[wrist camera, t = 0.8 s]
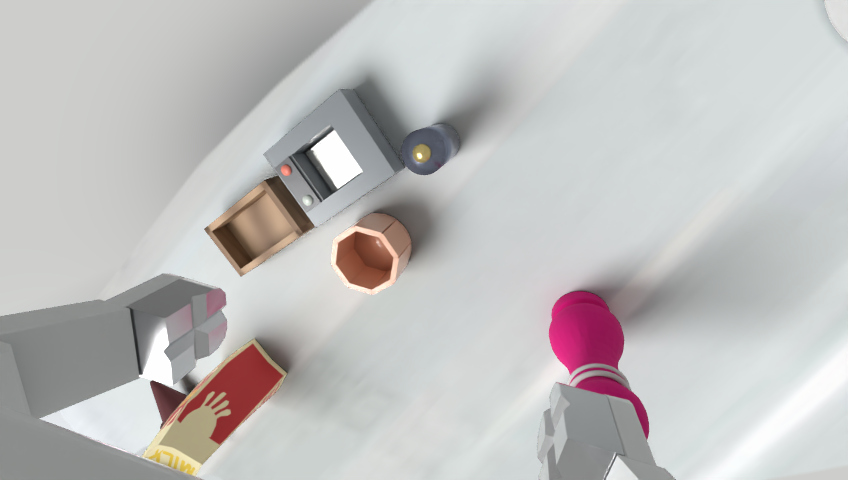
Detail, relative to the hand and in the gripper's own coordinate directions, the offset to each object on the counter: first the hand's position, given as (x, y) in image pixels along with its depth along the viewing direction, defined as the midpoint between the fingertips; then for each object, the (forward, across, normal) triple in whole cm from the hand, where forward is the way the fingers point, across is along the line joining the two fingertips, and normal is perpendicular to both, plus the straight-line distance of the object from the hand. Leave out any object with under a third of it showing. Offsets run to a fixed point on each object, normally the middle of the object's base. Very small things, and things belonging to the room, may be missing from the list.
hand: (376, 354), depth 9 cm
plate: (+35, +17, +3) cm, 39 cm away
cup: (+35, +11, +13) cm, 39 cm away
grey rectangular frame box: (+35, +17, +3) cm, 39 cm away
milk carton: (+36, +28, +39) cm, 60 cm away
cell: (+35, +5, 0) cm, 36 cm away
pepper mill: (+35, -14, +16) cm, 41 cm away
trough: (+36, +26, +14) cm, 46 cm away
